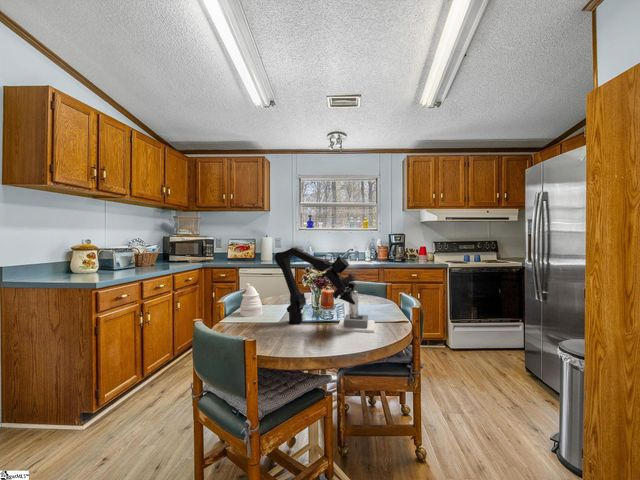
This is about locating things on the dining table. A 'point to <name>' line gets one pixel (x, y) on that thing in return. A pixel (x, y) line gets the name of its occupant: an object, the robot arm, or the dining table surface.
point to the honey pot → (250, 303)
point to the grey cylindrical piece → (354, 308)
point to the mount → (356, 324)
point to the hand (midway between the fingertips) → (356, 303)
